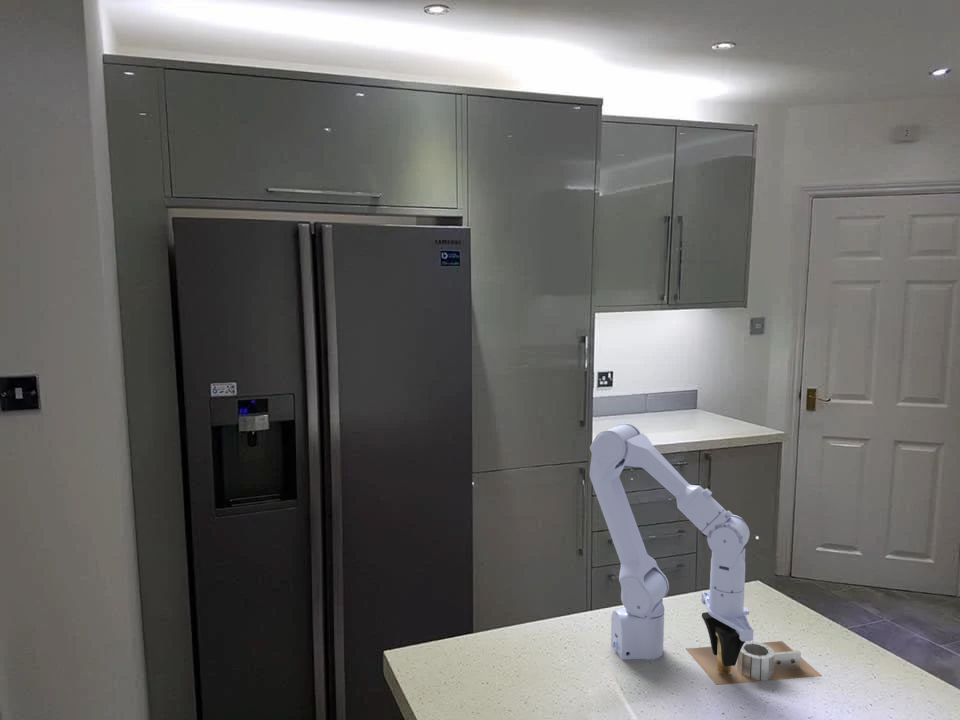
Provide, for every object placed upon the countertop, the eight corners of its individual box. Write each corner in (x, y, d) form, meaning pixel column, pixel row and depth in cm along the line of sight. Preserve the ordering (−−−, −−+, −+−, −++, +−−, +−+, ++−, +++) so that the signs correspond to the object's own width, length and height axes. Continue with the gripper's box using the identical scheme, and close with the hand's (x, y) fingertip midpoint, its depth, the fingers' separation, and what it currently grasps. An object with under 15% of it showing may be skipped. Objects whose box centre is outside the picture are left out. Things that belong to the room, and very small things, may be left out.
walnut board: (716, 690, 115) (716, 684, 115) (685, 653, 127) (685, 648, 127) (821, 680, 118) (821, 675, 118) (781, 645, 130) (782, 641, 130)
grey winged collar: (748, 681, 116) (749, 660, 116) (716, 647, 127) (716, 627, 127) (809, 676, 118) (810, 655, 117) (772, 643, 129) (772, 623, 129)
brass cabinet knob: (719, 675, 117) (721, 637, 116) (710, 665, 120) (712, 628, 119) (736, 673, 117) (738, 636, 116) (727, 664, 120) (728, 627, 120)
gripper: (771, 603, 110) (768, 680, 112) (727, 568, 125) (724, 637, 126) (732, 606, 109) (728, 684, 111) (692, 570, 124) (689, 639, 125)
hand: (724, 659), depth 118 cm, fingers closed on brass cabinet knob, 3 cm apart
